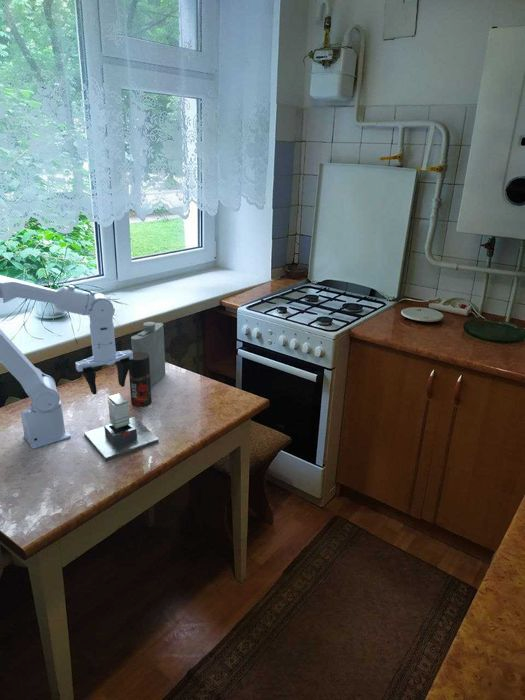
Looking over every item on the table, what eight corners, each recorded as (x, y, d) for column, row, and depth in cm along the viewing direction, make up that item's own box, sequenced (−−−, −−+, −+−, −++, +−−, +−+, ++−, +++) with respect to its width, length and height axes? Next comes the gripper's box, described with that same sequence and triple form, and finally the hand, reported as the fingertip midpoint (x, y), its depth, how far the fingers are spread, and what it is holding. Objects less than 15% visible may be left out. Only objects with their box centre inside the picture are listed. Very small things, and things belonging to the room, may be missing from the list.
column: (117, 429, 123) (115, 404, 120) (108, 421, 127) (106, 396, 124) (131, 425, 125) (129, 400, 122) (122, 416, 129) (120, 392, 126)
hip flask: (158, 371, 167) (156, 314, 159) (169, 373, 166) (167, 316, 158) (132, 391, 153) (128, 330, 145) (144, 393, 152) (140, 332, 144)
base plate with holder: (105, 461, 118) (104, 448, 117) (84, 435, 128) (83, 424, 127) (158, 442, 127) (158, 430, 125) (134, 419, 137) (133, 408, 135)
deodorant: (154, 398, 148) (151, 352, 143) (148, 408, 143) (145, 360, 137) (135, 397, 149) (131, 351, 143) (128, 406, 143) (124, 359, 138)
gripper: (80, 352, 118) (86, 402, 124) (136, 340, 127) (140, 387, 132) (70, 343, 123) (76, 392, 129) (125, 332, 132) (128, 378, 137)
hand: (108, 389), depth 131 cm, fingers open, 7 cm apart
